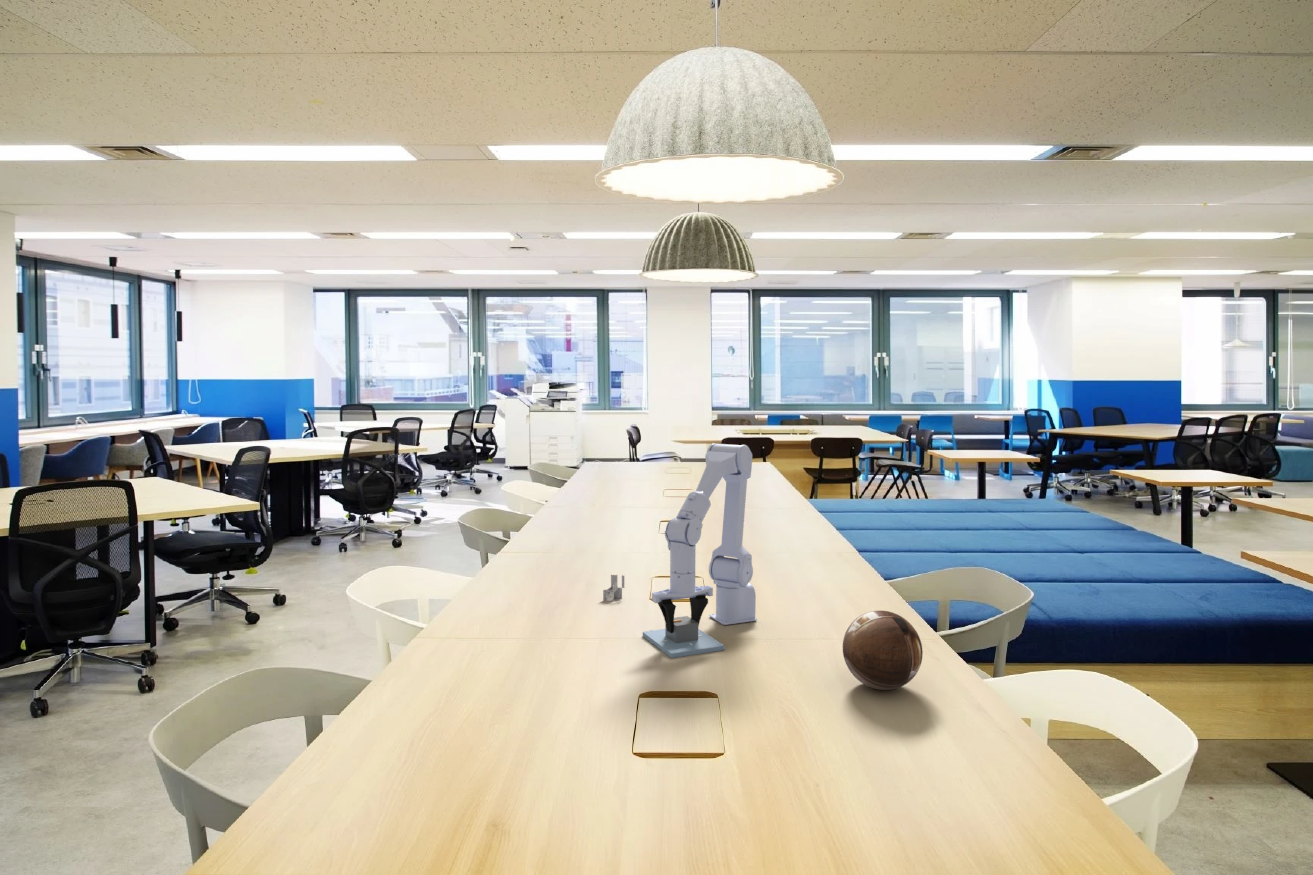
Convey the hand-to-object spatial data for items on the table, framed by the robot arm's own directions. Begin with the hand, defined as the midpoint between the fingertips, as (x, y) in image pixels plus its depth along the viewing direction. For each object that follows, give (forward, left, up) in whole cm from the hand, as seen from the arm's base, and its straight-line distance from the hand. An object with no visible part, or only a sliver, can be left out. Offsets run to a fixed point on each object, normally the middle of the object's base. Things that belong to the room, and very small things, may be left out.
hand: (682, 629), depth 183 cm
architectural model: (0, -35, -4) cm, 35 cm away
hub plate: (0, 0, -3) cm, 3 cm away
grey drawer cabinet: (0, 0, -2) cm, 2 cm away
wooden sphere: (-25, +39, -3) cm, 46 cm away
